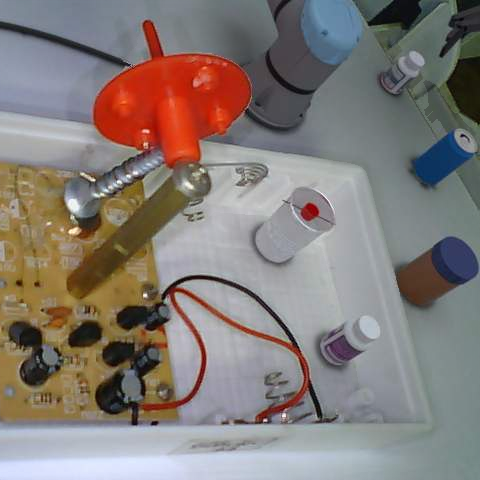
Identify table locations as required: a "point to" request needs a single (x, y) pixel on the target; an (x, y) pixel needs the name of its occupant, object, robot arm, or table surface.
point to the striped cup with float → (295, 224)
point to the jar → (423, 281)
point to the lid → (455, 260)
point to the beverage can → (445, 156)
